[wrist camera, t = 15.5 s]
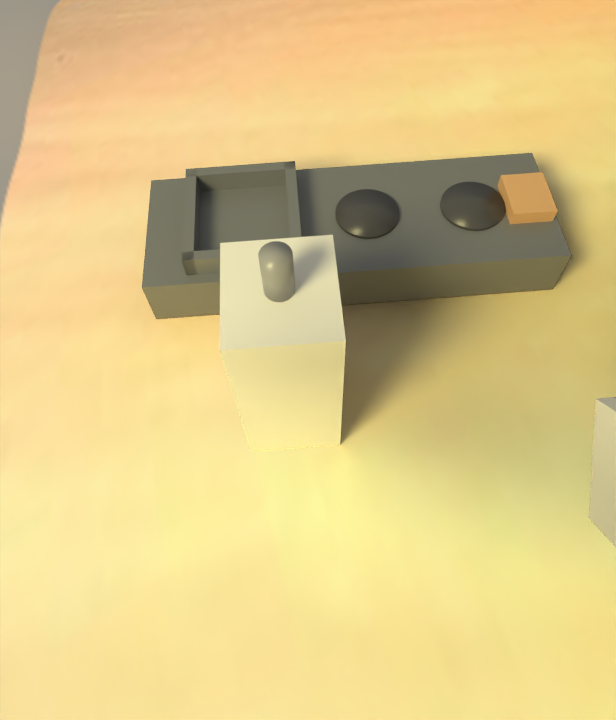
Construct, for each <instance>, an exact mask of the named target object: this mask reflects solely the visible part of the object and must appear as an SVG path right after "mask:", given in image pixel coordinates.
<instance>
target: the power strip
mask: <svg viewBox="0 0 616 720" xmlns="http://www.w3.org/2000/svg"><path fill="white" fill-rule="evenodd" d="M557 211H558V210H557V208H556V205H555V203H554V200H553V197H552V195H551V192H550V190H549V187H548V184H547V182H546V179H545V177H544V174H543V172H539V170H538V167H537V165H536V162H535V159H534V157H533V154H532V153H525V154H511V155H497V156H483V157H470V158H456V159H442V160H428V161H415V162H401V163H387V164H373V165H360V166H346V167H332V168H318V169H304V170H296V168H295V161H291V162H278V163H264V164H250V165H236V166H222V167H209V168H195V169H186V178H181V179H167V180H153V181H151V191H150V202H149V214H148V225H147V236H146V248H145V259H144V270H143V282H142V289H143V291H144V293H145V295H146V297H147V300H148V302H149V304H150V306H151V308H152V311H153V313H154V315H155V317H156V319H165V318H178V317H191V316H205V315H218V314H220V243H227V242H240V241H254V240H267V239H281V238H295V237H308V236H322V235H333V240H334V248H335V257H336V265H337V273H338V281H339V289H340V297H341V305H351V304H364V303H377V302H390V301H404V300H417V299H430V298H443V297H457V296H470V295H483V294H496V293H510V292H523V291H536V290H550V289H553V288H554V286H555V284H556V282H557V280H558V279H559V277H560V275H561V273H562V272H563V270H564V268H565V266H566V264H567V263H568V261H569V259H570V257H571V253H570V250H569V248H568V245H567V243H566V240H565V237H564V235H563V232H562V230H561V227H560V224H559V222H558V219H557V217H556V213H557Z"/></svg>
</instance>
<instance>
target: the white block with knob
mask: <svg viewBox="0 0 616 720" xmlns="http://www.w3.org/2000/svg"><path fill="white" fill-rule="evenodd" d="M345 348H346V338H345V330H344V322H343V313H342V305H341V297H340V289H339V281H338V273H337V265H336V257H335V248H334V240H333V235H322V236H308V237H295V238H281V239H267V240H254V241H240V242H227V243H220V353H221V357H222V360H223V363H224V366H225V369H226V373H227V376H228V379H229V382H230V385H231V389H232V392H233V395H234V398H235V401H236V405H237V408H238V411H239V414H240V417H241V421H242V424H243V427H244V430H245V434H246V437H247V440H248V443H249V446H250V450H251V452H258V451H271V450H284V449H296V448H309V447H322V446H335V445H340V439H341V421H342V403H343V384H344V366H345Z"/></svg>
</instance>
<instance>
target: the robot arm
mask: <svg viewBox="0 0 616 720" xmlns="http://www.w3.org/2000/svg"><path fill="white" fill-rule="evenodd" d="M589 519H590V520H591V521H592V522H593V523H594V524H595V525H596V527H597V528H598V529H599V530H600V531H601V532H602V533H603V534H604V535H605V536H606V537H607V538H608V539H609V540H610V541H611V542H612V543H613V545H614V546H615V547H616V397H614V398H601V399H596V407H595V423H594V439H593V455H592V471H591V487H590V503H589Z"/></svg>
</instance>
